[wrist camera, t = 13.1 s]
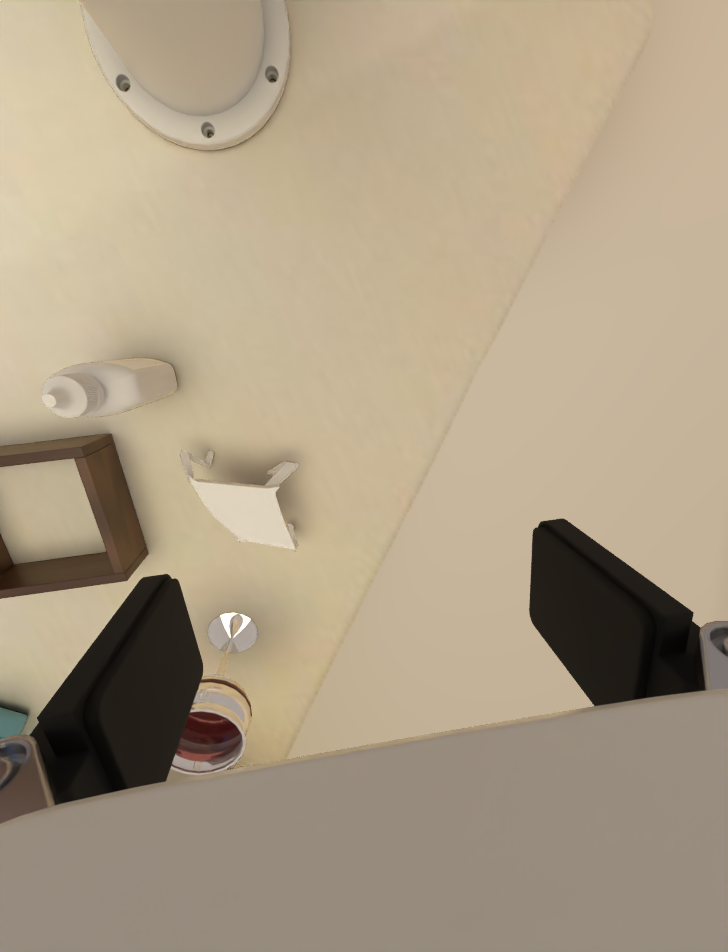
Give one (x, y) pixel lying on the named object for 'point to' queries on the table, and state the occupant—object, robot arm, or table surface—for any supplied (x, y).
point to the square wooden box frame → (108, 508)
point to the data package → (11, 723)
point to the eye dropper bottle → (108, 387)
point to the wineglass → (218, 706)
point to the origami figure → (246, 504)
